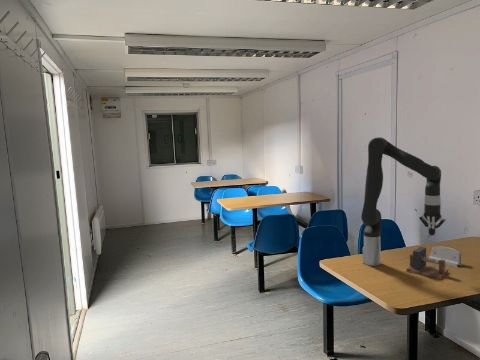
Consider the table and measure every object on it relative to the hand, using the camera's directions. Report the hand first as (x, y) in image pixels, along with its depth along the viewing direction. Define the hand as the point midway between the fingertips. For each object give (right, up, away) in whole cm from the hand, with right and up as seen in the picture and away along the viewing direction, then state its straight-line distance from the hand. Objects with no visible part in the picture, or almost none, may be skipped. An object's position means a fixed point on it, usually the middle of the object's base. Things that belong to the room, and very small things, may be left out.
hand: (432, 235), depth 184 cm
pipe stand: (0, -21, +4) cm, 21 cm away
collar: (-3, -19, +7) cm, 20 cm away
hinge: (+17, -19, +17) cm, 31 cm away
